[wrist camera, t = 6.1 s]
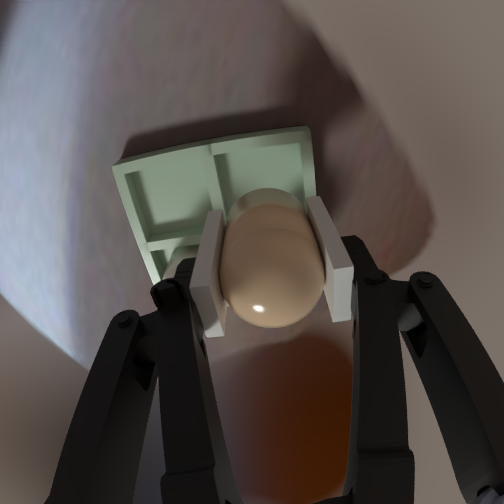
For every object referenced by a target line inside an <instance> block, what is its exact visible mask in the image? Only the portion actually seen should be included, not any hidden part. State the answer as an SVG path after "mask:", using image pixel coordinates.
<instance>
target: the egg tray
mask: <svg viewBox="0 0 504 504" xmlns="http://www.w3.org/2000/svg"><path fill="white" fill-rule="evenodd" d="M111 167H112V170H113V173H114V177H115V180H116V183H117V186H118V189H119V192H120V195H121V198H122V201H123V204H124V207H125V210H126V213H127V216H128V219H129V222H130V225H131V227H132V230H133V233H134V236H135V238H136V241H137V244H138V246H139V249H140V252H141V254H142V257H143V259H144V262H145V265H146V267H147V270H148V272H149V275H150V277H151V279H152V282H153V284H154V285H155V284H156V283H158V282H159V281H161V280H162V279H163V276H164V273H165V270H166V268H167V265H168V262H169V259H170V257H171V255H172V253H173V252H174V251H175V250H176V249H178V248H180V247H182V246H189V245H200V241H201V237H202V234H203V230H204V226H205V222H206V218H207V215H208V211H214V210H220V209H222V212H223V216H224V221H225V225H226V223H227V217H228V214H229V211H230V209H231V208H232V206H233V205H234V203H235V202H236V201H237V200H238V199H239V198H240V197H242V196H243V195H245V194H246V193H248V192H250V191H253V190H256V189H261V188H276V189H280V190H284V191H286V192H288V193H290V194H292V195H293V196H294V197H296V198H297V199H298V200H299V201H300V202H301V204H302V205H303V207H304V208H305V210H306V213H307V205H306V198H307V197H315V196H316V185H315V172H314V160H313V149H312V138H311V130H310V129H309V128H308V127H307V126H306V125H305V126H295V127H286V128H278V129H270V130H263V131H255V132H249V133H242V134H236V135H230V136H224V137H218V138H212V139H207V140H202V141H197V142H192V143H187V144H182V145H177V146H172V147H168V148H163V149H159V150H155V151H151V152H146V153H142V154H138V155H134V156H131V157H127V158H123V159H120V160H119V161H117V162H116V163H115V164H114V165H113V166H111ZM227 306H229V305H228V303H227Z"/></svg>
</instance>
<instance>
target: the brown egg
mask: <svg viewBox="0 0 504 504" xmlns="http://www.w3.org/2000/svg"><path fill="white" fill-rule="evenodd" d="M219 279H220V286H221V290H222V293H223V296H224V298H225V300H226V302H227V303H228V305H229V306H230V307H231V309H232V310H233V311H234V312H235V313H236V314H237V315H238V316H239V317H241V318H242V319H243V320H245V321H247V322H249V323H251V324H254V325H257V326H260V327H266V328H279V327H284V326H288V325H291V324H293V323H295V322H297V321H299V320H300V319H302V318H304V317H305V316H306V315H307V314H308V313H309V312H310V311H311V310H312V309H313V308H314V307H315V305H316V304H317V302H318V300H319V298H320V296H321V294H322V291H323V287H324V283H325V268H324V263H323V259H322V255H321V252H320V250H319V247H318V244H317V241H316V238H315V235H314V232H313V229H312V227H311V224H310V221H309V218H308V215H307V213H306V210H305V208H304V207H303V205H302V204H301V202H300V201H299V200H298V199H297V198H296V197H294V196H293V195H292V194H290V193H288V192H286V191H284V190H280V189H276V188H261V189H256V190H253V191H250V192H248V193H246V194H245V195H243V196H242V197H240V198H239V199H238V200H237V201H236V202H235V203H234V205H233V206H232V208H231V209H230V211H229V214H228V217H227V223H226V229H225V236H224V243H223V249H222V256H221V263H220V270H219Z"/></svg>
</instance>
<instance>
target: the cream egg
mask: <svg viewBox="0 0 504 504" xmlns="http://www.w3.org/2000/svg"><path fill="white" fill-rule="evenodd" d="M198 249H199V245H189V246H182V247H180V248H178V249H176V250H175V251H174V252H173V253H172V255H171V257H170V259H169V262H168V265H167V268H166V270H165V273H164V276H163V279H162V280H164V279H166V278H174V275H175V272H176V269H177V265H178V264H179V263H180V262H181V261H182V260H183V259H186V258H193V257H197V253H198ZM156 309H157V307H156Z"/></svg>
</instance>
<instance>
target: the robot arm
mask: <svg viewBox="0 0 504 504" xmlns="http://www.w3.org/2000/svg"><path fill="white" fill-rule="evenodd" d="M306 205H307V215H308V218H309V221H310V224H311V227H312V229H313V232H314V235H315V238H316V241H317V244H318V247H319V250H320V252H321V255H322V259H323V263H324V268H325V283H324V287H323V289H324V292H325V296H326V299H327V303H328V306H329V310H330V313H331V317H332V321H333V322H339V321H345V320H350V319H351V311H352V314H353V317H354V323H353V332H352V339H353V388H352V390H353V391H352V410H351V428H350V441H349V442H350V443H349V453H348V464H347V473H346V479H345V484H344V490H343V496H341V497H335V498H329V499H325V500H322V501H320V502H317V503H314V504H414V479H415V476H414V475H415V462H414V455H413V452H412V451H411V450H410V449H409V446H408V423H407V405H406V391H405V380H404V369H403V360H402V351H401V343H400V336H399V331H400V332H401V335H402V337H403V339H404V341H405V343H406V346H407V348H408V350H409V352H410V355H411V357H412V359H413V362H414V364H415V366H416V369H417V371H418V373H419V376H420V378H421V381H422V383H423V386H424V388H425V391H426V393H427V396H428V398H429V400H430V403H431V406H432V409H433V411H434V414H435V417H436V419H437V422H438V425H439V428H440V430H441V433H442V436H443V439H444V442H445V445H446V448H447V451H448V454H449V457H450V460H451V463H452V467H453V470H454V473H455V477H456V480H457V483H458V485H459V488H460V491H461V493H462V495H463V497H464V499H465V501H466V503H467V504H504V382H503V381H502V379H501V377H500V375H499V373H498V371H497V369H496V368H495V366H494V364H493V362H492V360H491V359H490V357H489V355H488V353H487V352H486V350H485V348H484V347H483V345H482V343H481V341H480V340H479V338H478V337H477V335H476V334H475V332H474V330H473V329H472V327H471V325H470V324H469V322H468V321H467V319H466V317H465V316H464V314H463V313H462V311H461V310H460V308H459V307H458V305H457V304H456V302H455V301H454V299H453V298H452V297H451V295H450V294H449V292H448V291H447V289H446V288H445V287H444V285H443V284H442V282H441V281H440V279H439V278H438V277H437V276H436V275H434V274H432V273H429V272H425V271H424V272H423V271H422V272H416V273H414V274H413V275H411V276H410V280H409V281H397V280H392V279H390V278H389V276H388V274H387V273H385V272H384V271H382V270H379V269H378V268H377V266H376V264H375V262H374V260H373V258H372V257H371V255H370V253H369V251H368V250H367V248H366V246H365V244H364V242H363V241H362V240H361V239H360V238H358V237H357V236H355V235H352V236H345V237H340V236H339V234H338V232H337V230H336V228H335V226H334V224H333V221H332V219H331V217H330V215H329V213H328V211H327V209H326V207H325V205H324V204H323V202H322V200H321V198H320V196H315V197H307V198H306ZM225 229H226V225H225V221H224V216H223V212H222V209H220V210H214V211H208V215H207V218H206V222H205V226H204V230H203V234H202V237H201V241H200V245H199V249H198V253H197V257H193V258H186V259H183V260H182V261H181V262H180V263H179V264H178V265H177V269H176V272H175V275H174V278H166V279H164V280H161V281H159V282H158V283H156V284H155V285H154V286H153V287H152V288H151V291H150V294H151V296H152V298H153V301H154V303H155V305H156V307H157V310H156V311H155V312H152V313H150V314H146V315H143V316H139V314H138V312H136V311H135V310H125V311H122V312H120V313H118V314H117V315H116V316H114V317H113V319H112V320H111V322H110V324H109V327H108V329H107V331H106V333H105V336H104V338H103V340H102V343H101V345H100V348H99V350H98V352H97V355H96V357H95V360H94V362H93V365H92V367H91V370H90V372H89V375H88V378H87V380H86V383H85V385H84V388H83V390H82V393H81V396H80V399H79V401H78V404H77V407H76V410H75V413H74V416H73V418H72V421H71V424H70V427H69V430H68V433H67V436H66V439H65V443H64V446H63V449H62V452H61V456H60V459H59V462H58V466H57V469H56V473H55V477H54V480H53V484H52V488H51V492H50V495H49V497H48V498H47V500H46V501H45V503H44V504H132V502H133V496H134V490H135V484H136V478H137V473H138V467H139V461H140V457H141V451H142V447H143V442H144V437H145V432H146V427H147V422H148V418H149V413H150V409H151V404H152V400H153V395H154V390H155V386H156V382H157V378H158V379H159V396H160V397H159V398H160V413H161V424H162V425H161V426H162V437H163V447H164V457H165V465H166V472H165V474H164V475H163V476H162V477H161V481H160V485H161V496H162V503H163V504H243V502H242V500H241V497H240V495H239V492H238V490H237V487H236V484H235V480H234V476H233V472H232V468H231V464H230V460H229V456H228V452H227V448H226V443H225V439H224V434H223V430H222V426H221V421H220V416H219V412H218V408H217V402H216V398H215V393H214V388H213V383H212V378H211V373H210V368H209V362H208V357H207V351H206V346H205V343H204V340H203V331H205V334H206V337H218V336H224V334H225V320H226V308H227V302H226V300H225V298H224V296H223V293H222V290H221V286H220V279H219V270H220V263H221V256H222V249H223V243H224V236H225Z"/></svg>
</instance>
